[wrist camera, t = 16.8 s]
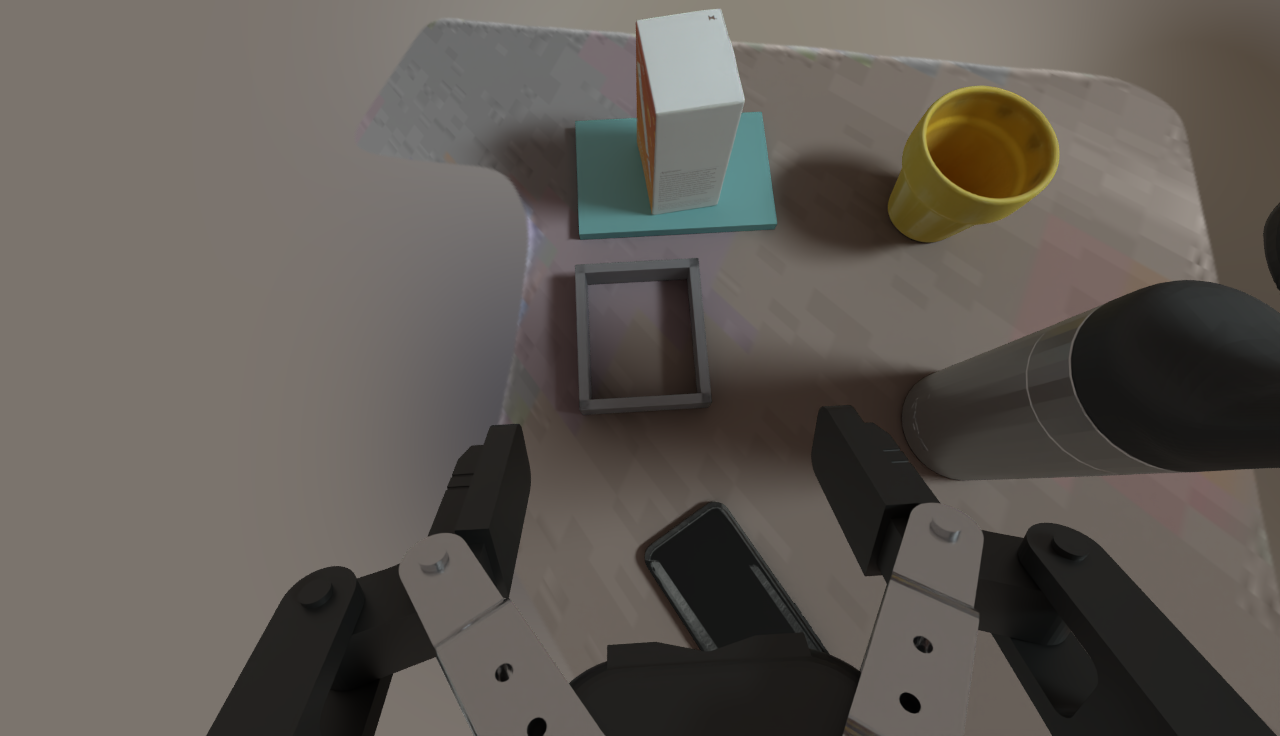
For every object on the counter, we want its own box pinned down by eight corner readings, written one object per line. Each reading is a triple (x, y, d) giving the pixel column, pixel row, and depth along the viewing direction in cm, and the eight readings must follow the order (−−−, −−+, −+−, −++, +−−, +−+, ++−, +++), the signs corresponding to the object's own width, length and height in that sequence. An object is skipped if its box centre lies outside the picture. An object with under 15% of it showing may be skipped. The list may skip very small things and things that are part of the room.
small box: (635, 142, 48) (634, 16, 35) (701, 132, 48) (723, 4, 36) (650, 218, 46) (654, 113, 33) (718, 207, 46) (748, 100, 34)
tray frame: (695, 270, 46) (698, 258, 43) (707, 407, 43) (711, 402, 40) (578, 276, 46) (575, 264, 43) (583, 414, 43) (579, 410, 40)
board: (759, 119, 50) (761, 111, 49) (774, 229, 47) (777, 223, 46) (576, 128, 50) (575, 121, 49) (580, 239, 47) (579, 234, 46)
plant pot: (849, 232, 47) (901, 166, 37) (889, 147, 49) (948, 64, 40) (955, 280, 46) (1038, 225, 36) (992, 191, 48) (1078, 116, 38)
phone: (756, 735, 36) (638, 554, 39) (752, 728, 38) (638, 552, 40) (840, 667, 37) (720, 495, 40) (834, 662, 39) (718, 495, 42)
